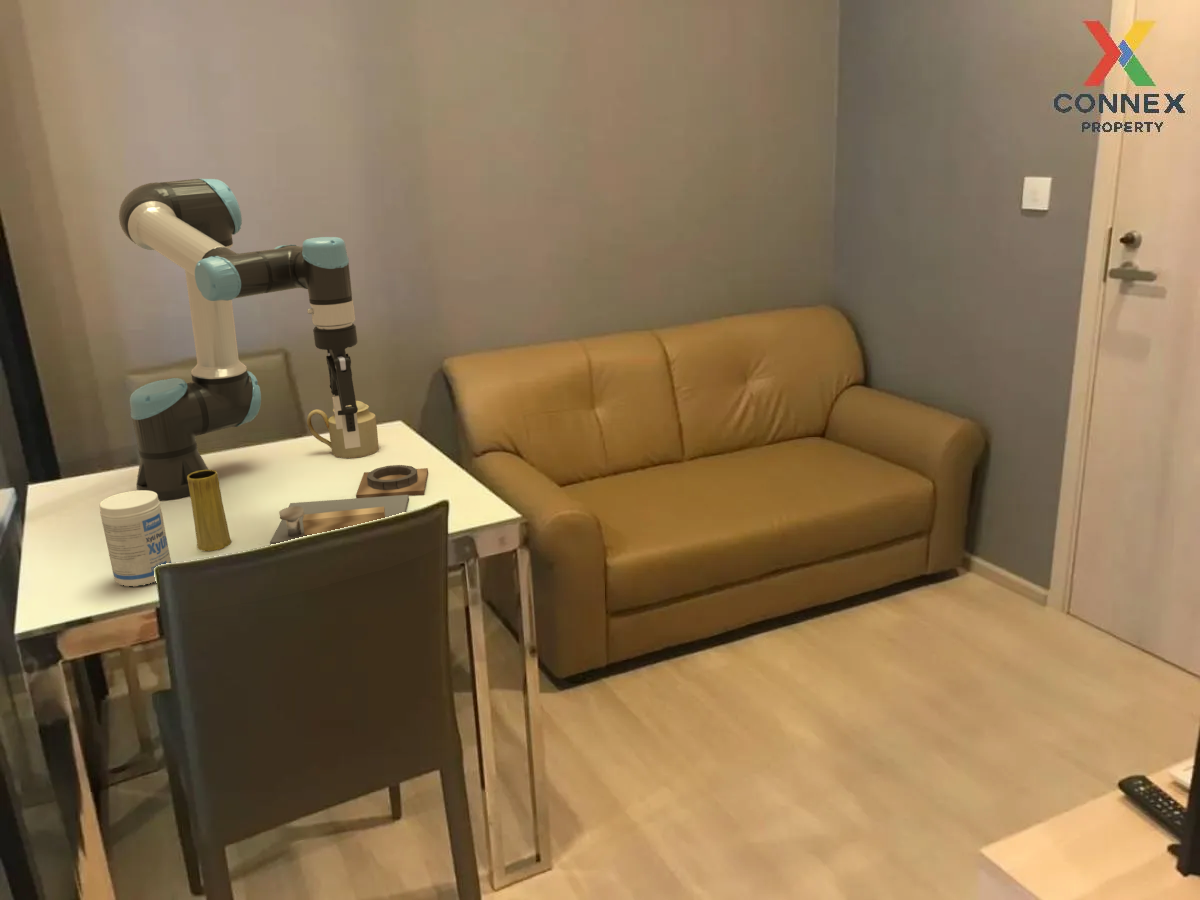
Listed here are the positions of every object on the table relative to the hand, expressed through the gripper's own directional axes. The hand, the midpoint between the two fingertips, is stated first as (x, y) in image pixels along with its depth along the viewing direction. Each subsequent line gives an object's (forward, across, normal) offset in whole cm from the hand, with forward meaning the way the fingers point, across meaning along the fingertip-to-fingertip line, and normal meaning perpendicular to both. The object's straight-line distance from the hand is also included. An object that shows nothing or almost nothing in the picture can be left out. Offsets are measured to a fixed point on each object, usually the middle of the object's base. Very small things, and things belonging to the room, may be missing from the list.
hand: (348, 437), depth 189 cm
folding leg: (+17, +1, -5) cm, 18 cm away
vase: (+19, -4, -26) cm, 33 cm away
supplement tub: (+19, +5, -38) cm, 43 cm away
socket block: (+19, -21, +10) cm, 30 cm away
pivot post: (+19, 0, -12) cm, 22 cm away
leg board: (+19, -5, -2) cm, 19 cm away
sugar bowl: (+19, -48, +4) cm, 52 cm away
